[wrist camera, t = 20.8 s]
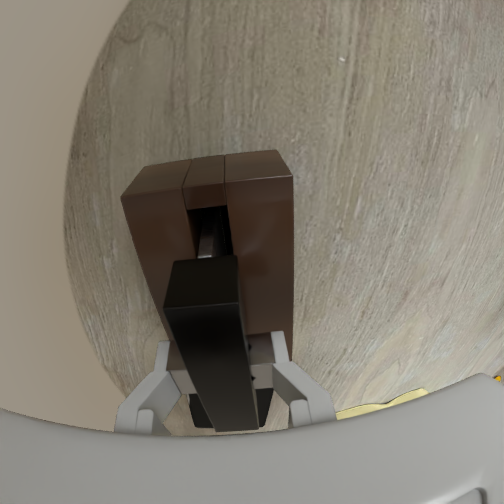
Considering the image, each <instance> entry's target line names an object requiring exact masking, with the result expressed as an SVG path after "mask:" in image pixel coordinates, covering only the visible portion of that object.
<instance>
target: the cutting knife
mask: <svg viewBox="0 0 504 504" xmlns="http://www.w3.org/2000/svg"><path fill="white" fill-rule="evenodd" d="M162 310H163V313H164V315H165V318H166V321H167V323H168V326H169V328H170V331H171V334H172V336H173V339H174V341H175V343H176V346H177V348H178V351H179V353H180V356H181V358H182V360H183V363H184V365H185V367H186V370H187V372H188V374H189V376H190V379H191V381H192V383H193V385H194V387H195V390H196V392H197V394H198V396H199V398H200V400H201V402H202V405H203V407H204V409H205V411H206V413H207V415H208V417H209V419H210V421H211V423H212V425H213V427H214V429H215V431H216V432H228V431H244V430H257V429H259V420H258V409H257V398H256V389H253V383H252V376H251V370H250V362H249V346H248V331H247V324H246V317H245V309H244V302H243V294H242V286H241V279H240V271H239V263H238V257H237V255H227V251H226V244H225V237H224V230H223V223H222V216H221V209H220V206H214V207H206V208H205V214H204V220H203V226H202V232H201V239H200V245H199V252H198V258H195V259H185V260H176V261H174V262H173V265H172V269H171V273H170V278H169V282H168V286H167V290H166V295H165V299H164V303H163V308H162Z"/></svg>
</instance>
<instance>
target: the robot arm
mask: <svg viewBox="0 0 504 504" xmlns="http://www.w3.org/2000/svg"><path fill="white" fill-rule="evenodd" d="M248 346H249V362H250V370H251V376H252V383H253V389H263V388H273V389H274V390H275V391H276V392H277V393H278V395H279V396H280V397H281V398H282V399H283V400H284V401H285V402H286V404H287V405H288V406H289V422H288V429H283V430H275V431H267V432H257V433H246V434H232V435H212V436H171V433H170V432H169V431H168V430H167V428H166V427H165V426H164V425H163V422H164V420H165V419H166V417H167V416H168V415H169V413H170V412H171V410H172V409H173V407H174V406H175V404H176V403H177V401H178V400H179V398H180V397H181V394H194V393H197V392H196V390H195V387H194V385H193V383H192V381H191V379H190V376H189V374H188V372H187V370H186V367H185V365H184V363H183V360H182V358H181V356H180V353H179V351H178V348H177V346H176V343H175V341H174V340H169V341H159V343H158V347H157V353H156V358H155V365H154V371H153V372H150V373H149V374H148V375H147V376H146V377H145V378H144V379H143V380H142V381H141V383H140V384H139V385H138V386H137V387H136V388H135V389H134V390H133V391H132V392H131V393H130V395H129V396H128V397H127V398H126V399H125V400H124V401H123V402H122V403H121V404H120V405H119V407H118V411H117V417H116V422H115V428H114V432H110V431H102V430H94V429H88V428H81V427H76V426H70V425H65V424H60V423H55V422H50V421H46V420H42V419H37V418H33V417H29V416H26V415H22V414H19V413H15V412H11V411H8V410H5V409H1V408H0V504H504V384H502V383H501V382H499V381H498V380H496V379H494V378H492V377H490V376H488V375H486V374H484V373H478V374H475V375H473V376H470V377H468V378H466V379H464V380H461V381H459V382H457V383H454V384H452V385H450V386H447V387H445V388H442V389H440V390H437V391H434V392H432V393H429V394H426V395H423V396H421V397H418V398H415V399H412V400H409V401H406V402H403V403H400V404H397V405H393V406H390V407H387V408H383V409H380V410H376V411H372V412H369V413H365V414H361V415H357V416H353V417H349V418H344V419H340V420H337V417H336V413H335V409H334V405H333V402H332V398H331V394H330V393H329V392H328V391H327V390H325V389H324V388H323V387H322V386H321V385H320V384H318V383H317V382H316V381H315V380H314V379H313V378H312V377H310V376H309V375H308V374H307V373H306V372H305V371H304V370H302V369H301V368H300V367H299V366H298V365H297V364H296V363H295V362H293V361H289V356H288V351H287V346H286V341H285V337H284V332H283V331H274V332H265V333H257V334H248Z"/></svg>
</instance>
